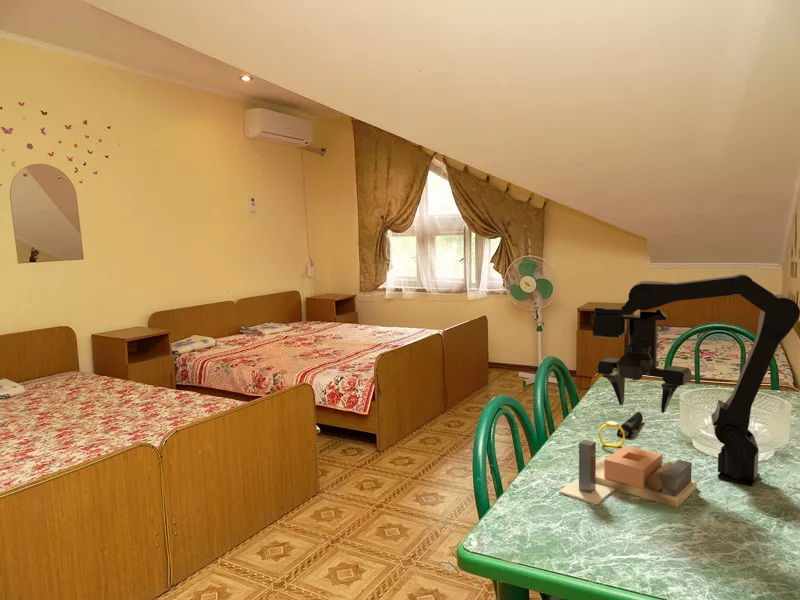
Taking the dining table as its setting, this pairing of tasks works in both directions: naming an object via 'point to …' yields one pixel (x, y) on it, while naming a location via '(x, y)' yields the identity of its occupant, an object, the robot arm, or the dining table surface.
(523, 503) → the dining table surface
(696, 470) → the dining table surface
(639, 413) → the electric trimmer
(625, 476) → the orange block with hole
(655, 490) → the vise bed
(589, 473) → the gray rectangular bar
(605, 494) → the beige square tile
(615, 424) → the watch
